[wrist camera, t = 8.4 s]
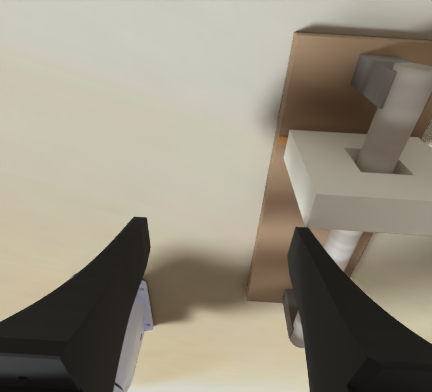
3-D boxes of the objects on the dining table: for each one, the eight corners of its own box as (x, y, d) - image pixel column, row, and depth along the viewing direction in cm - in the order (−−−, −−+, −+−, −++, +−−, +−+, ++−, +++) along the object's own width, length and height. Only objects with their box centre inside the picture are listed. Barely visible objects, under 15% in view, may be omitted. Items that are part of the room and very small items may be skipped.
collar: (404, 165, 19) (475, 238, 13) (283, 158, 19) (305, 228, 13) (418, 137, 18) (502, 205, 12) (289, 129, 18) (316, 194, 12)
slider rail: (331, 295, 30) (350, 354, 25) (246, 290, 30) (249, 348, 25) (454, 41, 16) (552, 66, 11) (294, 32, 16) (321, 52, 11)
